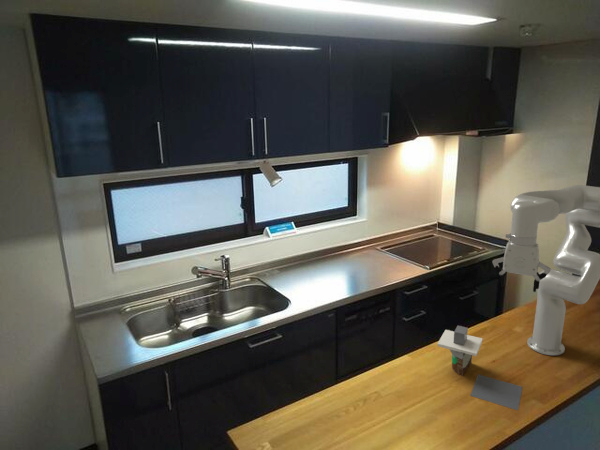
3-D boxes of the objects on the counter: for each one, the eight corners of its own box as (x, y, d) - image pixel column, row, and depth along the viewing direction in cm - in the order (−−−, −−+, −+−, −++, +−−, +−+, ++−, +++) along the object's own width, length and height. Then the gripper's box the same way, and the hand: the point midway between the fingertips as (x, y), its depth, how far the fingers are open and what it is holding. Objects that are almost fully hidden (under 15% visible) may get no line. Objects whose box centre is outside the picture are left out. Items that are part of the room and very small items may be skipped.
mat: (477, 375, 149) (477, 374, 149) (522, 388, 142) (522, 386, 141) (470, 397, 138) (470, 395, 138) (517, 412, 131) (518, 410, 131)
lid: (445, 331, 159) (446, 318, 157) (482, 340, 152) (483, 327, 150) (437, 346, 150) (438, 332, 148) (476, 356, 143) (477, 341, 142)
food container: (455, 357, 160) (457, 333, 157) (472, 362, 156) (474, 338, 154) (443, 373, 151) (445, 348, 148) (460, 379, 147) (462, 354, 145)
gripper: (492, 239, 139) (488, 286, 144) (552, 247, 130) (546, 297, 135) (496, 233, 145) (493, 278, 150) (554, 239, 136) (549, 288, 141)
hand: (518, 287), depth 143 cm, fingers open, 9 cm apart
